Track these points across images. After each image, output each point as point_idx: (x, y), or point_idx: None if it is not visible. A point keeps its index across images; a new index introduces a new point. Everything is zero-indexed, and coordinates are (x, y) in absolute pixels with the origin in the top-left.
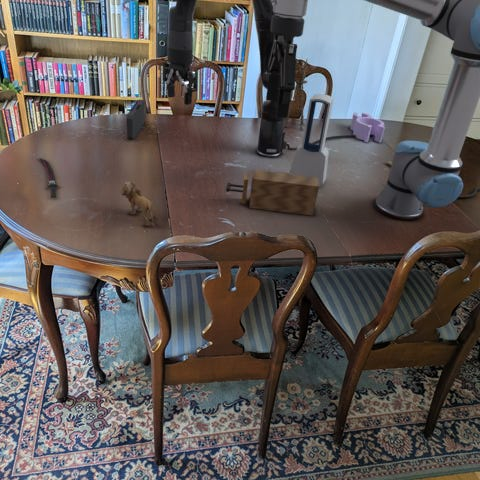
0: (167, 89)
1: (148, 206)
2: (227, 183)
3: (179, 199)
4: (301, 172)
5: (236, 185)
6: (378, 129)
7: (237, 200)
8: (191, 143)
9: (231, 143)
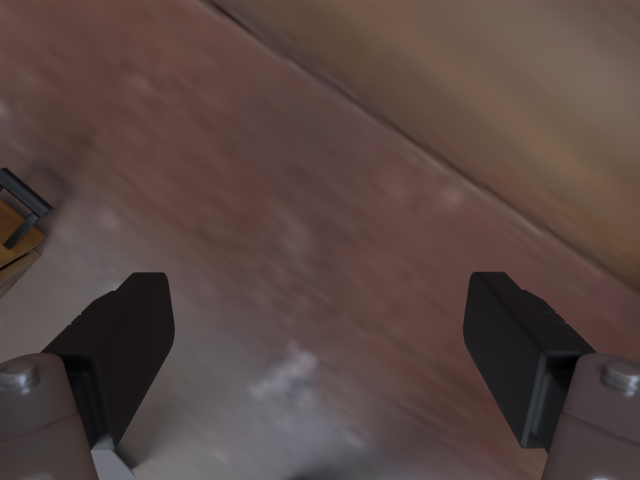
0: (569, 325)
1: None
2: (48, 208)
3: (142, 23)
4: None
5: (19, 226)
6: None
7: None
8: None
9: (431, 471)
